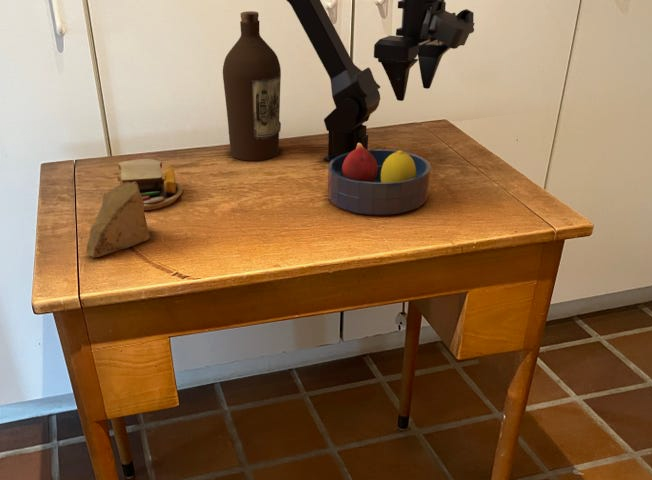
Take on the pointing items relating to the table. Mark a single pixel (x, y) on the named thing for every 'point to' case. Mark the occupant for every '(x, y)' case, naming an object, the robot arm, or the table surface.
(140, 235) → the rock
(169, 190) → the toy sandwich meal
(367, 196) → the bowl
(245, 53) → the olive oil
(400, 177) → the lemon
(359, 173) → the onion
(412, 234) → the table surface
